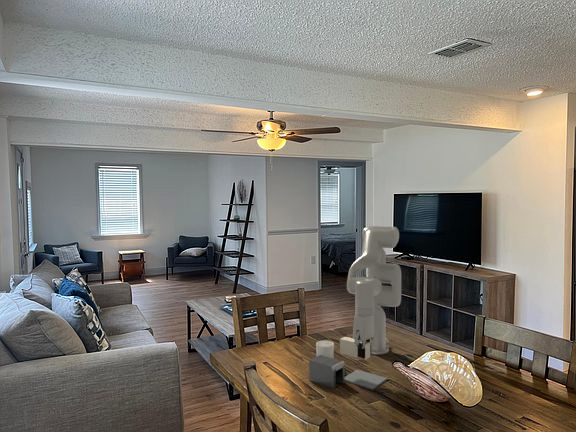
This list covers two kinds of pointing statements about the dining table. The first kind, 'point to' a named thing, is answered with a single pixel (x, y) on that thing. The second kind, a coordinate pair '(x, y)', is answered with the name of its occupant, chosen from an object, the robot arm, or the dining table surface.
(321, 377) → the dispenser
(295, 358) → the dining table surface
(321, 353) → the white cup
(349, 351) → the beige block
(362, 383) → the mat
